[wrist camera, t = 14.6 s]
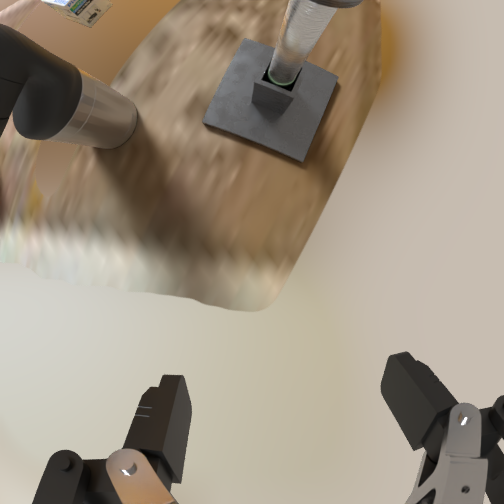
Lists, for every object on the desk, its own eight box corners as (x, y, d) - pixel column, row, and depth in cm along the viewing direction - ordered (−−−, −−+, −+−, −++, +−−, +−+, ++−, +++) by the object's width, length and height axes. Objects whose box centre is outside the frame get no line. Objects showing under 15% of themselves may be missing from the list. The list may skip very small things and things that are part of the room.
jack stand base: (203, 123, 38) (191, 106, 28) (244, 42, 34) (245, 8, 24) (300, 162, 40) (320, 158, 30) (335, 79, 36) (360, 56, 26)
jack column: (251, 91, 30) (271, -34, 7) (267, 60, 29) (302, -69, 6) (289, 106, 31) (368, 5, 8) (303, 75, 30) (383, -35, 7)
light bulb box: (114, 4, 29) (92, -22, 19) (91, 29, 30) (64, 6, 20) (85, -4, 27) (64, -26, 17) (65, 19, 28) (39, 0, 18)
